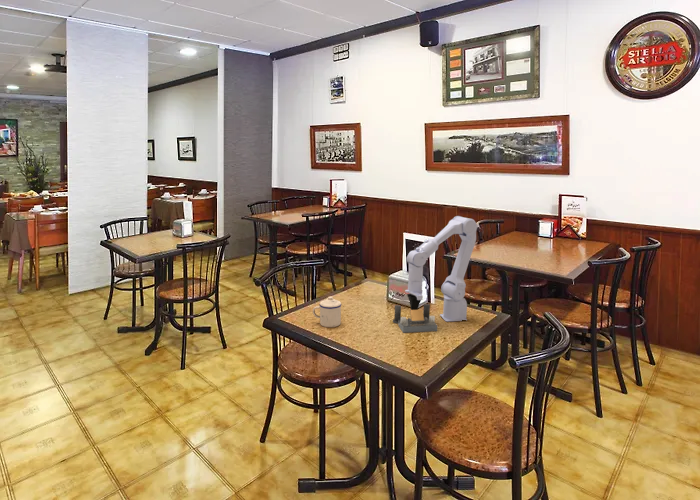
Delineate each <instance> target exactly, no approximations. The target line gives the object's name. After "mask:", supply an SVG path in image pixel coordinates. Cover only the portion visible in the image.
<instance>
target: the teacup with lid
mask: <svg viewBox="0 0 700 500" xmlns="http://www.w3.org/2000/svg"><path fill="white" fill-rule="evenodd" d="M341 306H342V302H341V301H340V300H338V299H335V298H334V297H333V296H328V297H327V298H325V299H324V300H322V301H320V302H319V305H317V306H314V307H313V308H312V314H313V315H314V317H315V318H317V319H319V320H320V322H319V324H320V326H322V327H324V328H335V327H338V326H340V325H341V324H342V307H341ZM317 309H319V315H318V314H317V313H316V312H315V310H317Z"/></svg>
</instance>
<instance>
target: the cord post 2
mask: <svg viewBox="0 0 700 500" xmlns="http://www.w3.org/2000/svg"><path fill="white" fill-rule="evenodd" d="M422 310H423V316H424V318H425V317H427V318H429V316H430V311H431V305H430V304H429V303H424V304H423V309H422Z"/></svg>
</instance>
